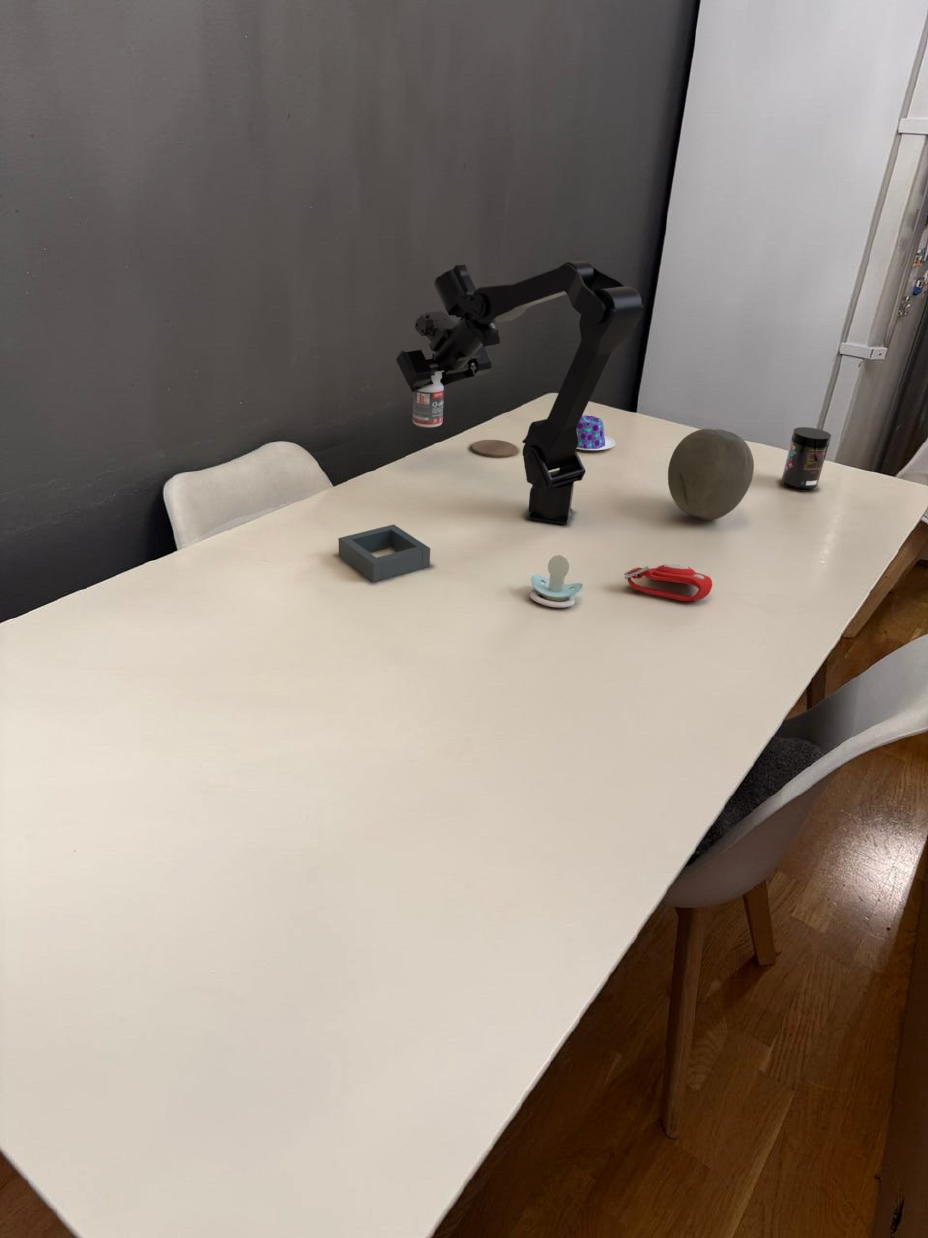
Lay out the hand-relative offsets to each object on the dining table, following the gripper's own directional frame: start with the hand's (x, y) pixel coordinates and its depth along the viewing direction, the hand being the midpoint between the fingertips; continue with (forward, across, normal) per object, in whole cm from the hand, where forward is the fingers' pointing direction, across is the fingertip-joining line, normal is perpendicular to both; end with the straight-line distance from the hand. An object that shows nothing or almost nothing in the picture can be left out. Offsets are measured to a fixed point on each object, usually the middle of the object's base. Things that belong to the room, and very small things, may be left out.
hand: (424, 387), depth 165 cm
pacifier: (-30, +21, +49) cm, 61 cm away
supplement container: (-27, -51, +46) cm, 74 cm away
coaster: (+6, -14, +13) cm, 20 cm away
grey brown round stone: (-25, -22, +45) cm, 56 cm away
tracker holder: (-34, +5, +54) cm, 65 cm away
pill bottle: (+4, 0, +6) cm, 7 cm away
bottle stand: (-14, +33, +33) cm, 49 cm away
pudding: (+1, -33, +18) cm, 38 cm away
